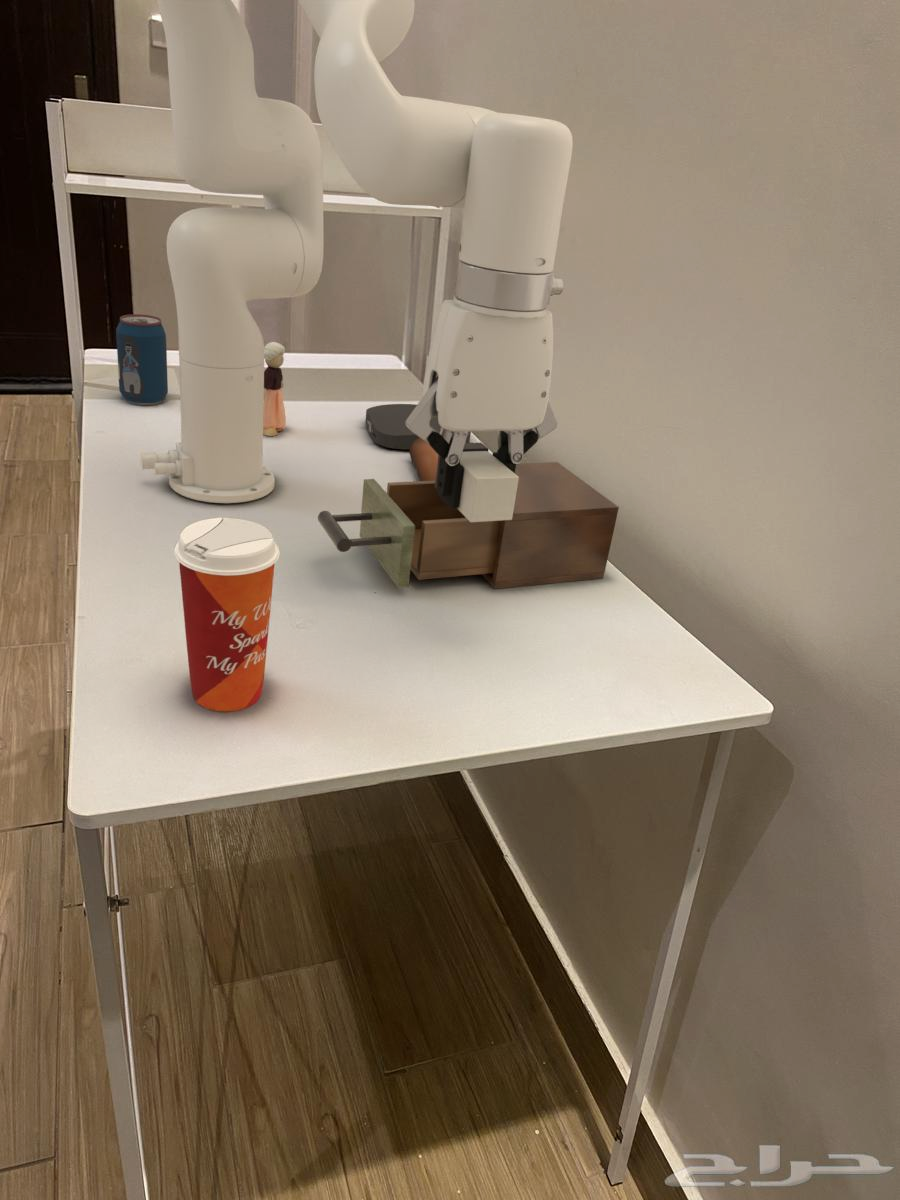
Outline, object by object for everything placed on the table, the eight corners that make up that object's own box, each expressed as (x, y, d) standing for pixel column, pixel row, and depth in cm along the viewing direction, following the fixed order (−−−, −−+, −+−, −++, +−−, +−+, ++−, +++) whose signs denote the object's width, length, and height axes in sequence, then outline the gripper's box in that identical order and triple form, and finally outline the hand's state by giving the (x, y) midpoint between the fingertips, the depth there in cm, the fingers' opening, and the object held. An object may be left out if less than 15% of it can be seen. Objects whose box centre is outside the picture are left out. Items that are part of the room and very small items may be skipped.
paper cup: (228, 732, 69) (228, 568, 63) (157, 693, 73) (150, 534, 66) (295, 688, 76) (302, 535, 69) (227, 655, 79) (227, 506, 72)
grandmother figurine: (280, 439, 129) (283, 350, 123) (253, 436, 129) (255, 346, 123) (290, 423, 136) (292, 337, 130) (264, 420, 135) (266, 334, 129)
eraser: (513, 520, 79) (520, 474, 77) (469, 522, 77) (475, 476, 75) (475, 485, 85) (481, 442, 83) (434, 487, 83) (439, 443, 82)
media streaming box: (474, 454, 133) (477, 434, 132) (376, 451, 129) (377, 431, 128) (452, 422, 145) (454, 404, 144) (361, 418, 142) (362, 400, 140)
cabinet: (494, 589, 96) (506, 514, 92) (444, 535, 106) (453, 465, 102) (603, 578, 101) (619, 507, 97) (545, 528, 112) (557, 461, 108)
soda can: (166, 393, 142) (164, 314, 136) (169, 407, 136) (167, 325, 130) (119, 392, 139) (114, 312, 134) (120, 406, 134) (115, 323, 128)
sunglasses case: (495, 509, 114) (474, 465, 110) (444, 534, 114) (422, 491, 111) (466, 459, 129) (447, 419, 126) (422, 481, 129) (402, 442, 126)
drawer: (342, 593, 89) (347, 529, 86) (309, 539, 99) (311, 481, 96) (507, 577, 96) (517, 518, 93) (461, 529, 106) (468, 474, 103)
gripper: (569, 285, 79) (535, 482, 87) (387, 275, 72) (370, 489, 81) (615, 304, 73) (574, 513, 81) (422, 295, 66) (399, 524, 75)
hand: (472, 499), depth 81 cm, fingers closed on eraser, 4 cm apart
